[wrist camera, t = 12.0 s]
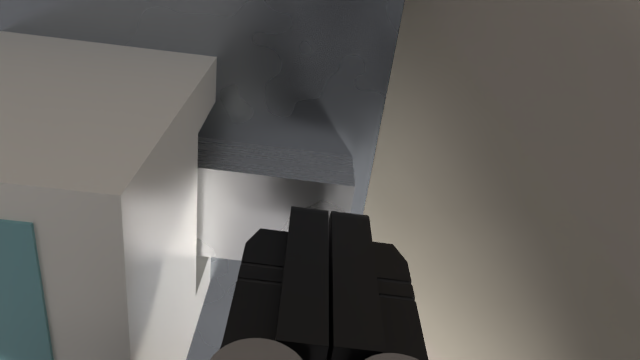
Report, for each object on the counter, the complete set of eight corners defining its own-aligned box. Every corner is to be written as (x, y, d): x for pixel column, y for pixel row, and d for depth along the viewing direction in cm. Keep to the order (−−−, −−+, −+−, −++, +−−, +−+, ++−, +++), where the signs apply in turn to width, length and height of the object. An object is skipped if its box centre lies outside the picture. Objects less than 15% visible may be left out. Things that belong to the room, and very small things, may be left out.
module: (217, 56, 12) (119, 197, 6) (210, 281, 14) (138, 513, 9) (0, 30, 11) (-294, 153, 6) (36, 263, 14) (-143, 488, 9)
